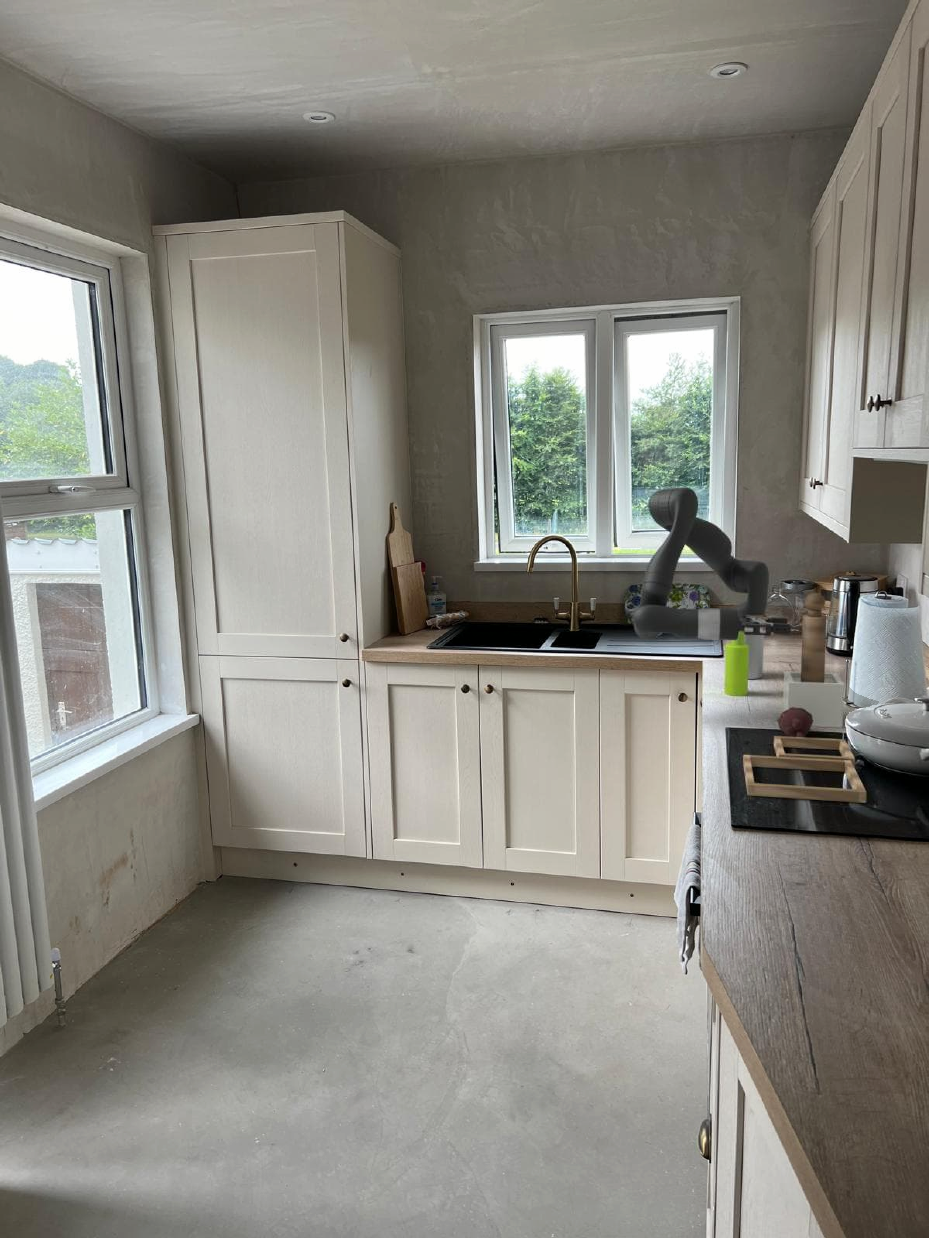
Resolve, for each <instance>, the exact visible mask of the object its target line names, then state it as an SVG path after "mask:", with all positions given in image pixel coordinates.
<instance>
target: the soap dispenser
mask: <svg viewBox="0 0 929 1238" xmlns="http://www.w3.org/2000/svg"><path fill="white" fill-rule="evenodd" d="M724 656H725V657H724V658H725V660H724V662H725V663H724V692H723V693H724V694H725V695H727V696H733V697H744V696H747V695H748V686H749V685H748V683H749V679H748V656H749V645H747V644H744V632H742V631H739V633H738V639H737V640H731V643H730V642H729V643H727V644H725V655H724Z"/></svg>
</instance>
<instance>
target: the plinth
mask: <svg viewBox="0 0 929 1238" xmlns="http://www.w3.org/2000/svg"><path fill="white" fill-rule="evenodd" d="M783 676H784V677H783V696H782V697H783V700H782V713H783V712H784V711H786V710H788V709H790V708H791V707H795V708H803V709H805V710H806V711H807V712H809V713H810V714H811V715H812V719H813V723H812V725H811V727H819V728H821V727H822V728H838V729H839V728H843V719H844V718H843V717H844V695H845V693H844V692H845V683H844V682H843V680H842V678H841V677H840V675H839V674H838V673H837V672H825V675H824V683H817V682H801V671H789V670H788V671H784V672H783Z"/></svg>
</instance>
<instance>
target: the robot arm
mask: <svg viewBox="0 0 929 1238" xmlns="http://www.w3.org/2000/svg"><path fill="white" fill-rule="evenodd" d="M698 510H699V499H698V496H697V494H696V492H695V491H694V490H693V489H692V488H690V487H675V488H664V489H660V490H657V491H655V492H653V493H652V494H651V495H650V497H649V500H648V511H649V514H650V516H651V518H652V520H653V521H654V522H655V523H656V524H657V525H658V526H659V527H661V528H663V529H664V530H666V531H667V532H669V533H668V535H667V537H666V538H665V540H664V541H663V543H662V544H661V545H660V547H659V548H658V549H657V550H656V551H655V553H654V554H653V555H652V557H651V559H650V560H649V562H648V564H647V566H646V569H645V572H644V576H643V580H642V584H641V585H642V586H641V589H640V591H641V592H640V593H641V594H640V595H641V596H640V602H639V606H638V608H637V609H636V610H635V612H634V614H633V616H632V622H633V629H634V631H635V634H637V636H638V637H639V638H640V639H642V640H646V641H650V640H651V641H652V640H655V639H656V638H658V637H659V636H660V634H661V633H663V634H672V635H674V636H675V637H678V638H685V639H703V640H713V641H714V640H715V641H717V640H718V641H730V642H729V644H730V643H731V640H737V639H738V633H739V631H742V632H744V644H747V645H749V656H748V680H758V679H761V678H762V677H764V676H763V675H764V672H763V671H764V649H765V636H766V637H769V636H772V635H774V634H783V635H784V634H787V635H788V634H790V633H791V630H792V625H791V624H790V623H788V619H787V617H771V616H768V615H766V610H767V605H768V591H769V583H770V581H769V580H770V574H769V573H770V572H769V568H768V566H767V564H766V563H764V562H763V561H755V560H753V561H752V560H741V559H737V558H735V557H734V556H733V555H732V551H733V546H732V545H733V544H732V541H731V539H730V538H729V536H728V535H727V534H726V533H725V532H724V531H723V530H722V529H721V528H720V527H719V526H718V525H716V524H714V523H713V522H711V521H708V520H705V519H702V518H699V517H697V515H698ZM685 546H687V548H688V549H690V550H691V551H692V552H693V553H694V555H696V556H697V557H698V558H699V559H700V560H701V561H703V562H704V563H705V565H707V566H708V567H709V568H710V569H711V570H712V571H714V572H715V573H716V575H717V576H718V577H719V579H720V580H721V581H722V582H723V584H724V585H725V586H726V587H727V588H728V589H729V590H731V591H732V592H735V593H739V594H740V593H741V594H747V599H746V601H744V602H743V603H739V604H736V605H734V606H732V607H731V608H716V607H715V608H699V609H697V608H683V609H682V608H680V609H679V608H677V607H676V608H675V607H670V606H668V600H669V597H670V593H671V590H672V586H673V582H674V577H675V572H676V570H677V566H678V562H679V560H680V558H681V555H682V553H683V550H684V548H685Z"/></svg>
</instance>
